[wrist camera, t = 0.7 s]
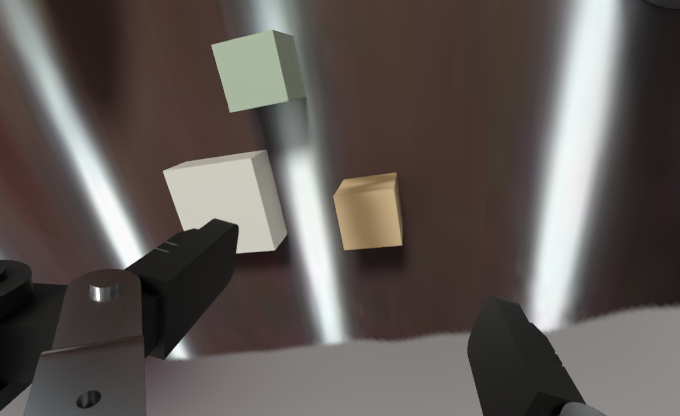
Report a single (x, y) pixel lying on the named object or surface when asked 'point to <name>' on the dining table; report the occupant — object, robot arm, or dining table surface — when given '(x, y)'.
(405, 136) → the dining table surface
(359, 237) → the oak cube
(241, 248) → the cream block
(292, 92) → the sage cube
